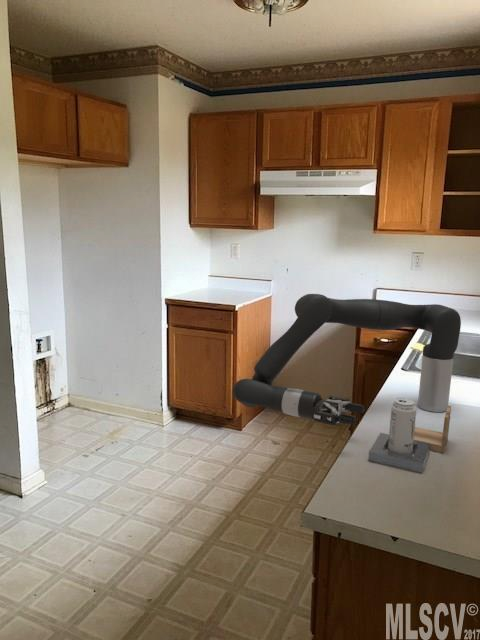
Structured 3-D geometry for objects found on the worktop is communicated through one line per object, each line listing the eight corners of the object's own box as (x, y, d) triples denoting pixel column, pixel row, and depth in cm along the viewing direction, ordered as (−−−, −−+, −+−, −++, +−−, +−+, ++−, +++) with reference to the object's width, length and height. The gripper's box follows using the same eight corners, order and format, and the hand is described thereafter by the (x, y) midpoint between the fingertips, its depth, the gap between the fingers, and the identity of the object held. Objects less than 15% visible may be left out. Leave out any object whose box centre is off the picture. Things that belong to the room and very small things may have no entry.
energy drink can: (409, 463, 131) (414, 407, 128) (385, 458, 134) (389, 402, 130) (413, 454, 136) (418, 399, 133) (390, 449, 139) (394, 395, 136)
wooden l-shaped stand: (413, 433, 149) (417, 400, 147) (447, 440, 145) (451, 406, 143) (408, 445, 141) (411, 410, 139) (443, 453, 137) (447, 417, 135)
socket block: (379, 441, 143) (380, 432, 143) (429, 451, 138) (430, 443, 137) (368, 460, 132) (369, 451, 131) (422, 473, 126) (423, 463, 126)
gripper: (292, 398, 138) (353, 410, 131) (310, 383, 150) (367, 393, 143) (291, 425, 139) (351, 438, 132) (309, 408, 152) (365, 419, 145)
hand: (359, 414), depth 138 cm, fingers open, 8 cm apart
